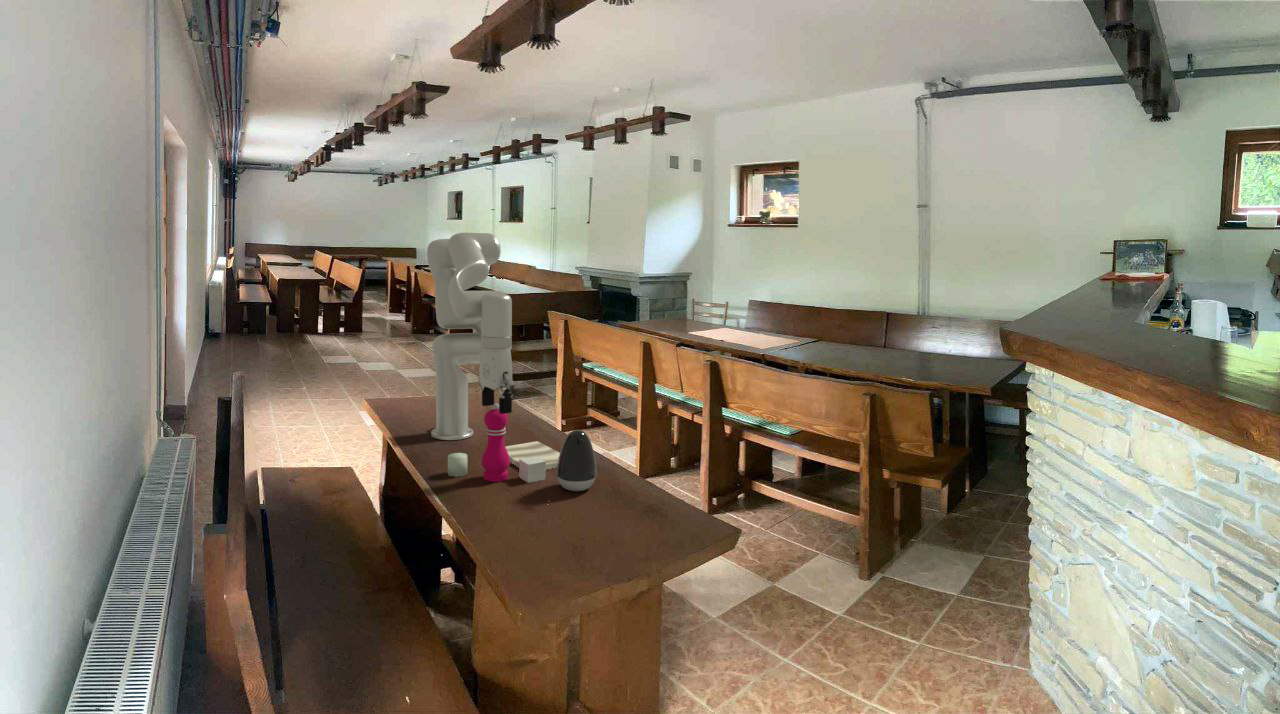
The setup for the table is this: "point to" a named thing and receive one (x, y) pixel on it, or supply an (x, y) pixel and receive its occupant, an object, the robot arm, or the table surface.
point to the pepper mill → (495, 446)
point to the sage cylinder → (457, 464)
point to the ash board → (533, 453)
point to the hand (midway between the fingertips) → (496, 409)
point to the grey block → (532, 469)
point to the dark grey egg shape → (576, 462)
